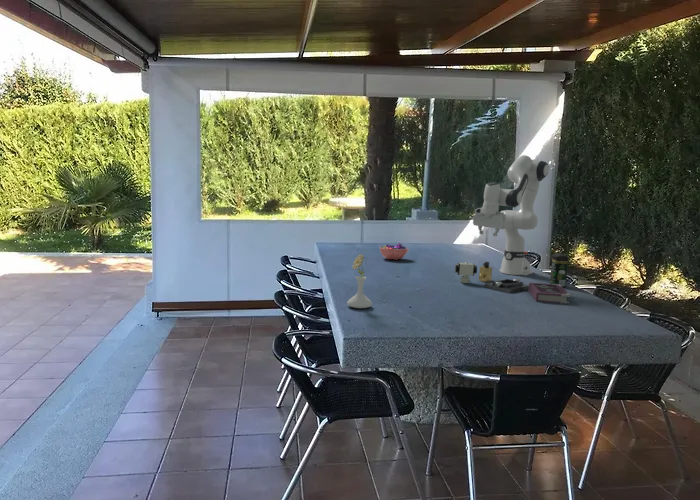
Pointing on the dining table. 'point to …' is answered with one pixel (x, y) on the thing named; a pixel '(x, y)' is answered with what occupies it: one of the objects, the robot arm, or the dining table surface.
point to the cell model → (393, 251)
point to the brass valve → (485, 272)
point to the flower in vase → (359, 287)
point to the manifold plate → (507, 285)
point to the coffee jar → (559, 269)
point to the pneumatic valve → (465, 271)
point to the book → (548, 292)
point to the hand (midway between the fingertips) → (488, 235)
